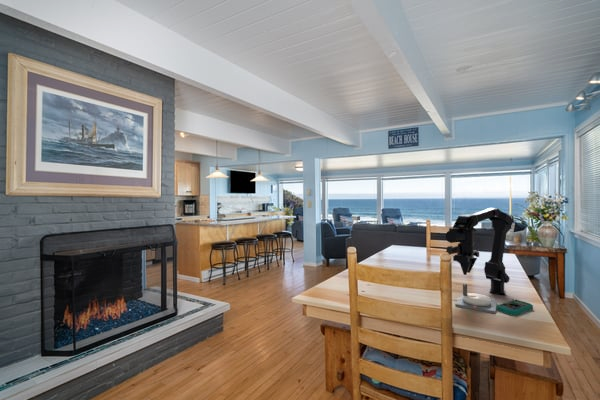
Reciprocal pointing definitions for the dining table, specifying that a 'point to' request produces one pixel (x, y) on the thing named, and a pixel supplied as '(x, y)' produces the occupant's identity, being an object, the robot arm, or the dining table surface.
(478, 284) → the dining table surface
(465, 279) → the dining table surface
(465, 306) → the base plate
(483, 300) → the dial
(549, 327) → the dining table surface
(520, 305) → the digital multimeter
